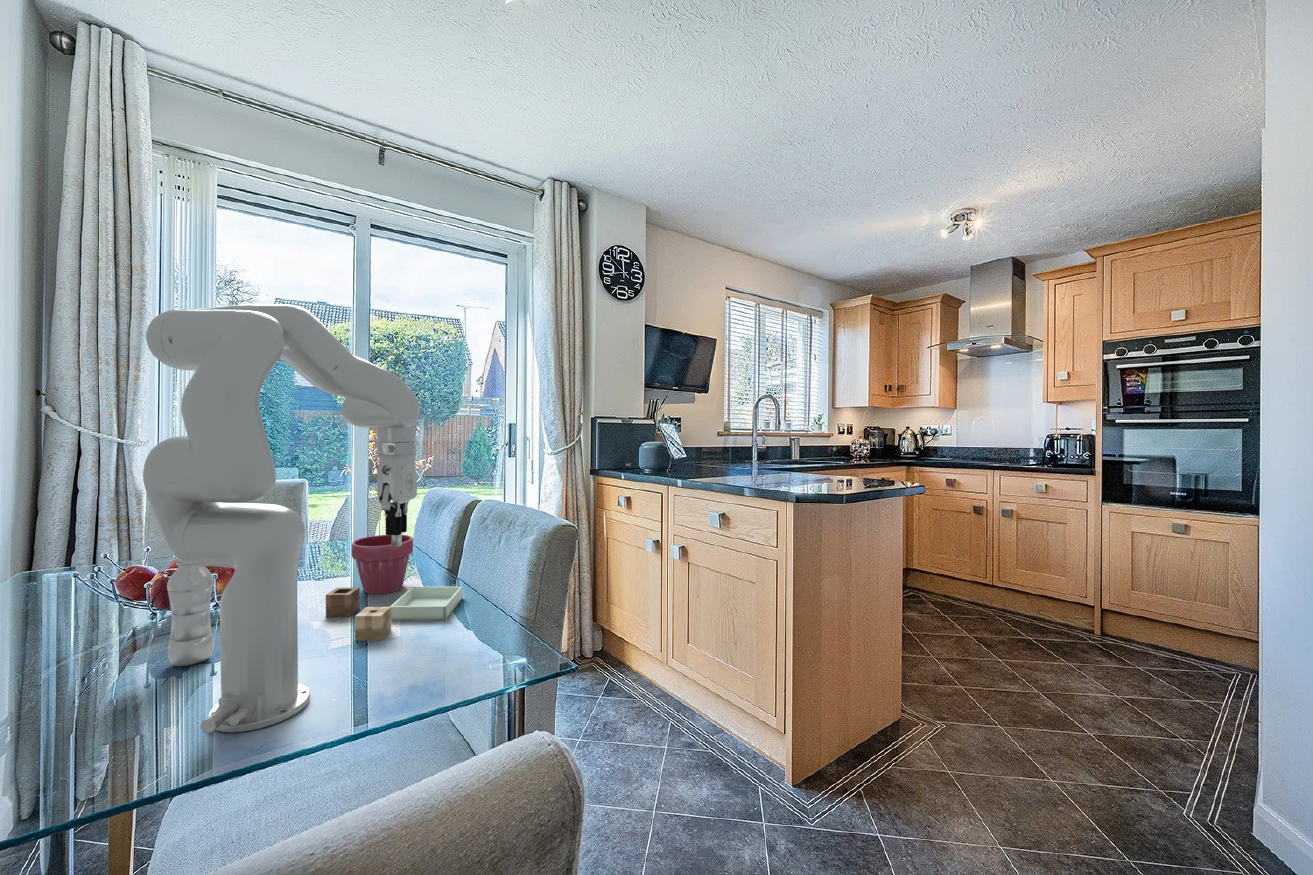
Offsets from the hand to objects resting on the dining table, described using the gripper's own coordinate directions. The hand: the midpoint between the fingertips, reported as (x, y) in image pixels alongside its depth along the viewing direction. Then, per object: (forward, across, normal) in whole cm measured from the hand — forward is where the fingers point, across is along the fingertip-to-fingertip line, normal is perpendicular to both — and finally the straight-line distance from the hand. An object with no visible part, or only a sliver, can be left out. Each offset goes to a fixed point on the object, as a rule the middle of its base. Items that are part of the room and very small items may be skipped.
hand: (396, 532), depth 120 cm
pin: (+3, 0, 0) cm, 3 cm away
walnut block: (+19, +3, +13) cm, 24 cm away
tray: (+19, +6, -5) cm, 21 cm away
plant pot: (+19, +20, +12) cm, 31 cm away
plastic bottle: (+19, -21, +27) cm, 40 cm away
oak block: (+19, -9, +1) cm, 21 cm away
